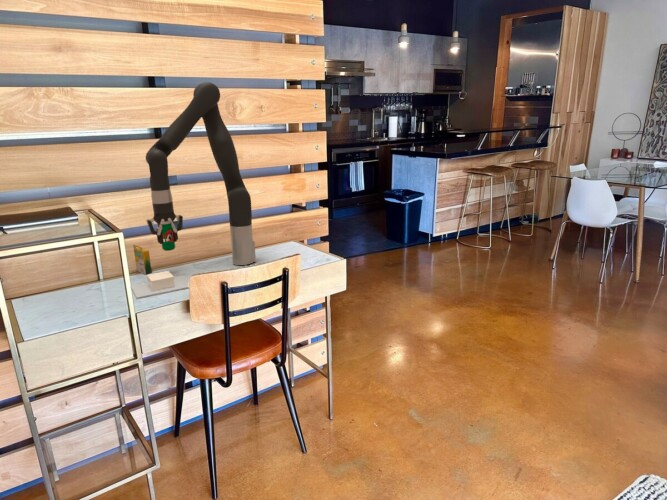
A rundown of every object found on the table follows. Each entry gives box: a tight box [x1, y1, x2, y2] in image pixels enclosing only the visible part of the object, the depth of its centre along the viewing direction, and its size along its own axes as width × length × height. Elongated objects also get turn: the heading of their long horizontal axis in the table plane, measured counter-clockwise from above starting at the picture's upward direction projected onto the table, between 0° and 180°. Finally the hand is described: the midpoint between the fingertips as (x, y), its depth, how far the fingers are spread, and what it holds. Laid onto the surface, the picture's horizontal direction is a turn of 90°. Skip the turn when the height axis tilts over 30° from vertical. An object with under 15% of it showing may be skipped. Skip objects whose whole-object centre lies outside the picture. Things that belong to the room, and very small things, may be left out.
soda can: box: [160, 221, 176, 252], centre depth 186 cm, size 5×5×12 cm
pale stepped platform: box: [131, 270, 189, 300], centre depth 175 cm, size 20×14×5 cm
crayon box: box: [132, 244, 153, 276], centre depth 191 cm, size 7×3×12 cm, turn 50°
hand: (168, 242), depth 187 cm, fingers closed on soda can, 5 cm apart
